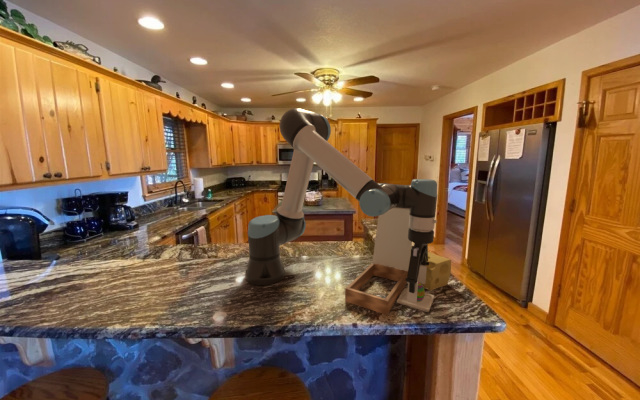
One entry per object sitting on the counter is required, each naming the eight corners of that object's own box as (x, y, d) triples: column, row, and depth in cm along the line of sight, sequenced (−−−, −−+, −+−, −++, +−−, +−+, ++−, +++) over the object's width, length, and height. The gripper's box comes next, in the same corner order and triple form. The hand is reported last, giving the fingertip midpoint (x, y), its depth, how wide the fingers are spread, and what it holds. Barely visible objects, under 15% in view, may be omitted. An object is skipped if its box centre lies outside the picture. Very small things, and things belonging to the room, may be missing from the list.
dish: (397, 302, 84) (397, 300, 84) (404, 290, 92) (405, 287, 92) (428, 312, 79) (429, 309, 79) (434, 298, 87) (434, 295, 87)
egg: (422, 296, 87) (424, 279, 86) (425, 304, 83) (426, 286, 82) (407, 294, 88) (408, 277, 87) (409, 302, 84) (410, 284, 83)
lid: (380, 203, 105) (380, 203, 106) (372, 262, 104) (373, 262, 105) (415, 207, 98) (416, 207, 99) (408, 271, 97) (408, 270, 98)
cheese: (430, 291, 91) (432, 264, 90) (407, 278, 101) (408, 254, 99) (449, 285, 96) (452, 259, 94) (426, 273, 105) (427, 249, 104)
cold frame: (345, 301, 85) (346, 260, 83) (376, 268, 109) (377, 236, 107) (387, 315, 78) (389, 271, 75) (410, 277, 102) (412, 243, 99)
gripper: (426, 241, 69) (420, 314, 73) (440, 221, 90) (435, 279, 93) (397, 237, 73) (394, 306, 77) (417, 219, 94) (413, 274, 97)
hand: (416, 291), depth 85 cm, fingers open, 13 cm apart
